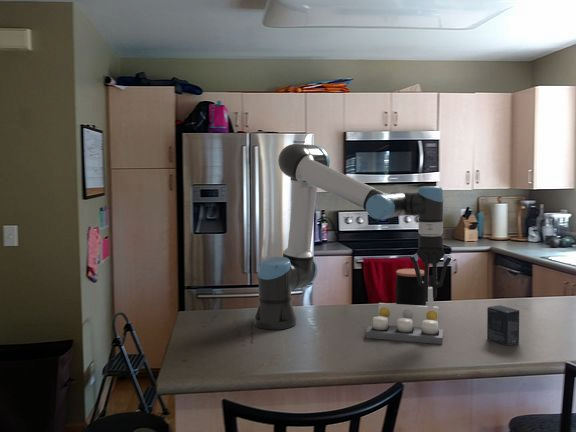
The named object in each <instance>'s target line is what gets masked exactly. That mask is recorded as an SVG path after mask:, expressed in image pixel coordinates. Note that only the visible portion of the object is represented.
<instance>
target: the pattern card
mask: <svg viewBox="0 0 576 432" xmlns="http://www.w3.org/2000/svg"><path fill="white" fill-rule="evenodd" d="M378 316H383V317H387V318H388V325H391V326H397V319H399V318H408V319H411V320H412V327H416V328H422V321H424V320H434V321H437V322H438V323H439V306H434V305H433V309H428V305H426V306H419V305H403V304H396V303H387V302H386V303H385V302H378Z"/></svg>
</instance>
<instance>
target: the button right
mask: <svg viewBox="0 0 576 432" xmlns="http://www.w3.org/2000/svg"><path fill="white" fill-rule="evenodd" d="M438 329H439V321H438V322H437V321H434V320H424V321H422V332H423V333H426V334H436V333H438Z"/></svg>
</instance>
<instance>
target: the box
mask: <svg viewBox="0 0 576 432" xmlns="http://www.w3.org/2000/svg"><path fill="white" fill-rule="evenodd" d="M486 312H487V314H486V315H487V316H486V317H487V321H486V323H487V324H486V325H487V327H486V328H487V329H486V334H487V335H486V337H487V339H488V340H490V341H493V342H496V343H498V344H502V345H504V346H511V345H516V344H519V343H520V342H519V341H520V309H515V308H513V307H508V306H504V305H500V304H498V305H492V306H487V311H486Z"/></svg>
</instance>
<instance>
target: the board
mask: <svg viewBox="0 0 576 432" xmlns="http://www.w3.org/2000/svg"><path fill="white" fill-rule="evenodd" d="M365 338H367V339H368V338H369V339H379V340H387V341H388V340H391V341H401V342H402V341H403V342H410V343H411V342H413V343H422V344H424V343H425V344H436V345H443V342H444V329H440V328H438V333H436V334H426V333H423V332H422V328H416V327H412V331H410V332H401V331H398V330H397V326H391V325H388V328H387V329H385V330H377V329H374V328H373V323H370V324H369V326H368V327H367V329H366V331H365Z"/></svg>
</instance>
